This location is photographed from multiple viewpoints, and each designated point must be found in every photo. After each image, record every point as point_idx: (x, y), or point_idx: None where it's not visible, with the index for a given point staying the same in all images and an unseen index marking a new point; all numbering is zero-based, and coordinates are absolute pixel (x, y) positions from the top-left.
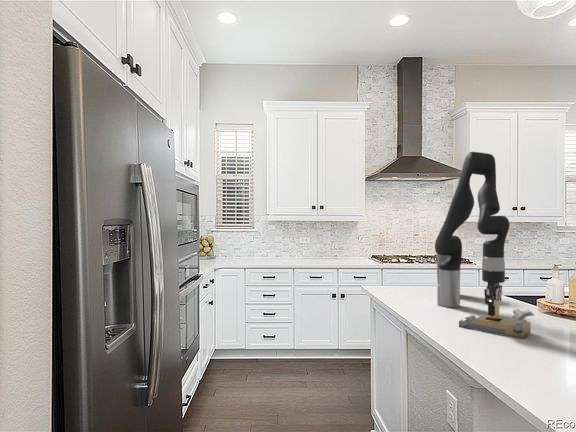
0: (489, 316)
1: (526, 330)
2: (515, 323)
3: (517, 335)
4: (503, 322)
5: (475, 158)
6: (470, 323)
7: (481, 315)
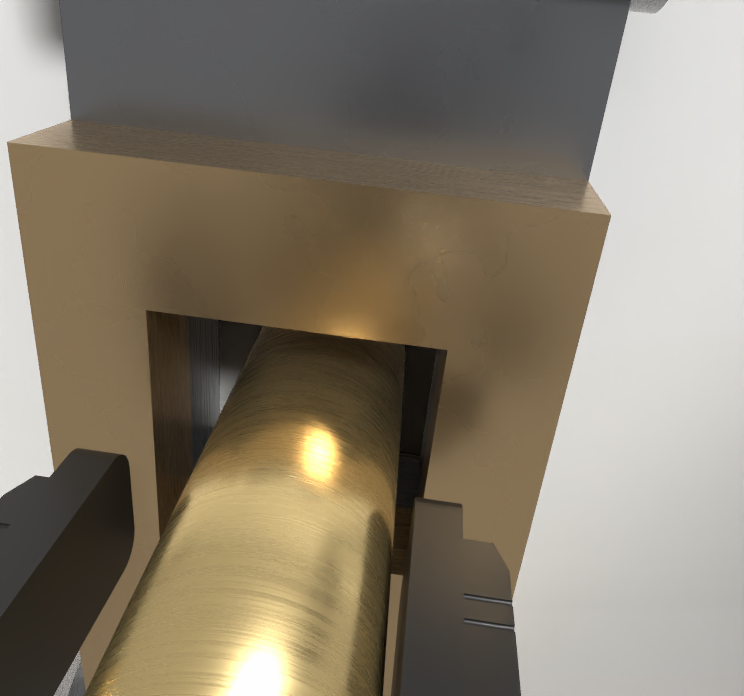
0: (230, 420)
1: None
2: None
3: None
4: None
5: None
6: (61, 8)
7: (462, 200)
